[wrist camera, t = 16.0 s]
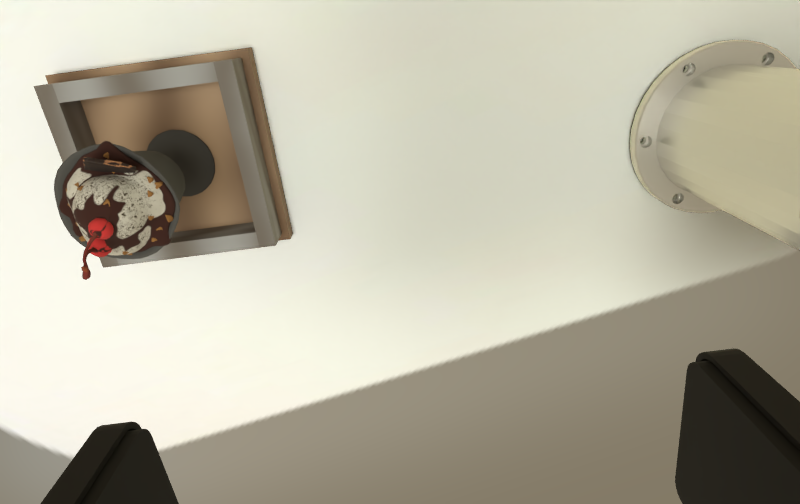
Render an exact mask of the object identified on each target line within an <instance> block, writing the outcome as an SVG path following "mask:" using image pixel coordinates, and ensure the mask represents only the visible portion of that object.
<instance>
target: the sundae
mask: <svg viewBox="0 0 800 504" xmlns="http://www.w3.org/2000/svg"><path fill="white" fill-rule="evenodd" d="M214 174H215V163H214V158H213V156H212V153H211V151H210V150H209V148H208V146H207V145H206V144H205V143H204V142H203V141H202V140H201V139H200V138H198V137H197V136H195V135H193V134H191V133H189V132H186V131H184V130H168V131H165V132H162V133H160V134H158V135H157V136H156V137H155V138H154V139H153V140H152V141H151V142H150V143H149V146H148V148H147V151H131V150H129V149H127V148H125V147H123V146H120V145H116V144H112V143H111V142H109V141H104V142H102V143H101V144H96V145H91V146H89V147H86V148H83V149H81V150H79V151H77V152H75V153H73V154H72V155H70V156H69V157H68V158H67V159H66V160H65V161H64V162H63V164H62V165H61V166H60V168H59V169H58V171H57V174H56V178H55V184H54V191H55V198H56V202H57V207H58V210H59V214H60V217H61V219H62V221H63V223H64V225H65V227H66V228H67V230H68V231H69V233H70V234H71V236H72V237H73V238H75V239H76V240H77V241H78V242H79V243H80V244H81V245H83V246H84V247H86V248H85V251H84V254H83V263H84V266H83V267H81V268H82V270H83V279H85V280H86V279H88V278H90V275H91V274H90V270H89V269H88V265H87V263H86V258H87V255H88V254H89V253H91V254H93V255H95V256H98V257H104V256H108V257H111V258H119V259H141V258H144V257H148V256H150V255H152V254H154V253H157V252H158V251H159V250H160V249H161V248H162V247H163V246H166V245H168V244H169V243H170V242H171V239H172V238H171V237H172V235H173V233H174V231H175V229H176V226H177V223H178V220H179V214H180V204H179V203H180V201H181V199H182V196H194V195H197V194H199V193H201V192H203V191H204V190H205V189H207V188H208V186H209V185H210V184H211V182H212V180H213V178H214Z"/></svg>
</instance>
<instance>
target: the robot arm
mask: <svg viewBox="0 0 800 504" xmlns="http://www.w3.org/2000/svg"><path fill="white" fill-rule="evenodd" d="M684 66H685V71H684V72H683V68H684ZM642 138H643V141H642V142H641V143H640V141H641V139H642ZM630 152H631V161H632V164H633V167H634V170H635V173H636V175H637V177H638V179H639V180H640V182H641V184H642V185H643V186H644V188H645V189H646V190H647V191H648V192H649V193H650V194H651V195H652V196H654V197H655V198H657V199H658V200H660V201H661V202H663V203H664V204H666V205H668V206H670V207H672V208H674V209H678V210H682V211H686V212H695V213H707V212H714V211H720V210H723V211H725V212H727V213H729V214H731V215H733V216H734V217H736V218H738V219H740V220H742V221H744V222H746V223H748V224H750V225H752V226H753V227H755V228H757V229H759V230H761V231H763V232H765V233H767V234H769V235H771V236H772V237H774V238H776V239H778V240H780V241H782V242H784V243H786V244H788V245H790V246H791V247H793V248H795V249H797V250H799V251H800V69H797V68H796V67H795V66H794V64H793V63H792V62H791V60H790V59H789V58H788V57H786V56H785V55H784V54H782V53H781V52H780V51H779V50H777V49H775V48H773V47H771V46H768V45H766V44H764V43H759V42H754V41H749V40H728V41H720V42H714V43H711V44H708V45H705V46H702V47H699V48H697V49H695V50H693V51H691V52H689V53H687V54H685V55H684V56H682V57H680V58H679V59H678V60H676V61H675V62H674V63H673V64H671V65H670V66H669V67H667V68H666V69H665V70H664V71H663V72H662V74H661V75H660V76H659V77H658V78H657V79H656V80H655V81H654V82H653V84H652V85H651V86H650V88H649V89H648V91H647V92H646V94H645V95H644V97H643V99H642V101H641V103H640V105H639V107H638V109H637V112H636V114H635V118H634V121H633V125H632V128H631V138H630ZM674 195H675V196H674ZM673 196H674V197H673ZM675 483H676V489H677V492H678V495H679V497H680V500H681V501H682V503H683V504H800V402H799V401H798V400H797V399H796V398H795V397H794V396H792V395H791V394H790V393H789V392H788V391H787V390H786V389H785V388H783V387H782V386H781V385H780V384H779V383H778V382H776V381H775V380H774V379H773V378H772V377H771V376H770V375H769V374H768V373H767V372H765V371H764V370H763V369H762V368H761V367H760V366H759V365H757V364H756V363H755V362H754V361H753V360H752V359H751V358H749V357H748V356H747V355H746V354H745V353H744V352H742V351H741V350H739V349H726V350H718V351H710V352H703V353H700V354H699V355H698V356H697V358H696V362H692V363H690V364H689V366H688V369H687V375H686V384H685V393H684V403H683V412H682V422H681V430H680V439H679V449H678V458H677V468H676V476H675ZM41 504H179V503H178V501H177V499H176V496H175V493H174V491H173V488H172V486H171V483H170V481H169V478H168V476H167V473H166V471H165V468H164V466H163V463H162V461H161V458H160V456H159V453H158V451H157V448H156V446H155V443H154V441H153V438H152V436H151V434H150V432H149V431H148V430H147V429H141V427H140V425H139V424H137V423H136V422H126V423H118V424H110V425H102V426H99V427H97V428H96V429H95V430H94V431H93V432H92V434H91V435H90V436H89V438H88V439H87V441H86V442H85V443H84V445H83V446H82V447H81V449H80V450H79V452H78V453H77V454H76V456H75V457H74V458H73V460H72V461H71V463H70V464H69V465H68V467H67V468H66V470H65V471H64V472H63V474H62V475H61V477H60V478H59V479H58V480H57V482H56V483H55V485H54V486H53V487H52V489H51V490H50V491H49V493H48V494H47V496H46V497H45V498H44V500H43V501H42V502H41Z"/></svg>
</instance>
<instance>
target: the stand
mask: <svg viewBox="0 0 800 504" xmlns="http://www.w3.org/2000/svg"><path fill="white" fill-rule="evenodd" d="M46 79H47V81H48V84H46V85H39V86H34V88H35V91H36V93H37V96H38V99H39V101H40V104H41V107H42V109H43V112H44V114H45V117H46V120H47V122H48V125H49V127H50V130H51V133H52V135H53V138H54V140H55V143H56V146H57V148H58V151H59V153H60V156H61V159H62V161H63V162H64V161H65V160H66V159H67V158H68V157H69V156H70V155H72V154H73V153H75V152H77V151H79V150H81V149H83V148H86V147H89V146H91V145H96V144H101V143H102V142H104V141H109V142H111V143H112V144H116V145H120V146H123V147H125V148H127V149H129V150H131V151H147V148H148V146H149V143H150V142H151V141H152V140H153V139H154V138H155V137H156V136H157V135H158V134H160V133H162V132H165V131H168V130H184V131H186V132H189V133H191V134H193V135H195V136H197V137H198V138H200V139H201V140H202V141H203V142H204V143H205V144H206V145H207V146H208V148H209V150H210V151H211V153H212V156H213V158H214V163H215V174H214V178H213V180H212V182H211V184H210V185H209V186H208V188H207V189H205V190H204V191H203V192H201V193H199V194H197V195H194V196H182V199H181V201H180V203H179V204H180V214H179V220H178V223H177V226H176V229H175V231H174V233H173V235H172V237H171V238H172V239H171V242H170V243H169V244H168V245H166V246H163V247H162V248H161V249H160V250H159V251H158V252H157V253H154V254H152V255H150V256H148V257H144V258H141V259H119V258H111V257H108V256H104V257H99V258H100V260H101V263H102V266H103V267H111V266H119V265H127V264H135V263H143V262H150V261H158V260H166V259H174V258H182V257H189V256H197V255H205V254H213V253H221V252H228V251H236V250H244V249H252V248H260V247H267V246H275V245H276V244H277V242H278V240H286V239H290V238H291V236H292V234H293V233H292V228H291V223H290V219H289V214H288V210H287V205H286V201H285V196H284V192H283V187H282V183H281V178H280V174H279V169H278V165H277V160H276V155H275V151H274V146H273V142H272V137H271V133H270V128H269V124H268V119H267V115H266V110H265V106H264V101H263V96H262V92H261V87H260V83H259V78H258V74H257V69H256V65H255V60H254V56H253V51H252V48H244V49H237V50H229V51H222V52H215V53H207V54H200V55H193V56H185V57H178V58H171V59H163V60H156V61H149V62H141V63H134V64H127V65H119V66H112V67H105V68H97V69H90V70H83V71H75V72H68V73H61V74H53V75H46Z"/></svg>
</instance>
